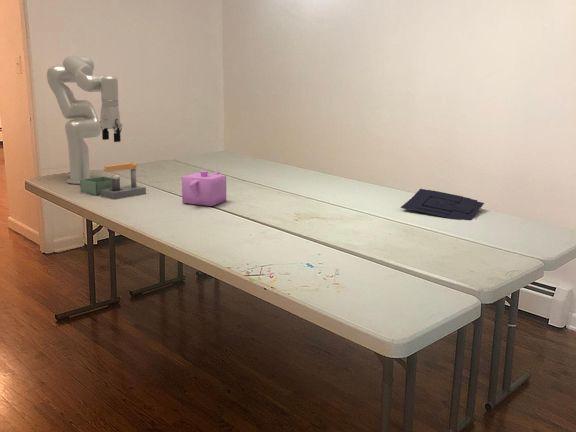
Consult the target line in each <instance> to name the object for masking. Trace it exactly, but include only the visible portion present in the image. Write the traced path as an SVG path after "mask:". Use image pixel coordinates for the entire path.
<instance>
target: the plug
mask: <svg viewBox="0 0 576 432" xmlns="http://www.w3.org/2000/svg"><path fill="white" fill-rule="evenodd" d="M111 178H112V191H120V187H121V179H120V178H121V177H120V174H115V173H114V174H111Z"/></svg>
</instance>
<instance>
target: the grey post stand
mask: <svg viewBox="0 0 576 432" xmlns="http://www.w3.org/2000/svg"><path fill="white" fill-rule="evenodd" d="M130 183H131V184H130V185H123V186H120V191H112V188H110V189H103V190H101V195H100V197H102V198H106V199H110V200H117V199H119V200H120V199H122V198H123V199H124V198H130V197H135V196H141V195H147V192H146V191H147V188H146V187H145V186H140V185H137V168H136V169H130Z"/></svg>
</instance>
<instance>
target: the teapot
mask: <svg viewBox="0 0 576 432" xmlns="http://www.w3.org/2000/svg"><path fill="white" fill-rule="evenodd" d="M181 195H182V198H181V201H182V203H183V204H190V205H200V206H206V207H207V206H209V207H214V206H216V205H219V204H222V203H224V202H227V175H226V174H220V170H217V171H214V173H209V171H208V170H200V171H199V172H194V173H192V174H187V175H184V176H181Z"/></svg>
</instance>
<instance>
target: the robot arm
mask: <svg viewBox="0 0 576 432" xmlns="http://www.w3.org/2000/svg"><path fill="white" fill-rule="evenodd" d="M94 70H95V63H94V61H93V59H92V58H91V57H90V56H86V55H68V56H66V57H64V59H63V61H62V64H58V65H57V64H56V65H52V66H50V67H49V68H47V72H46V79H47V84H48V87H49V88H50V89H51V91H52V93H53V94H54V96H55V98H56V101H57V103H58V106H59V109H60V112H61V114H62V116H63V117H64V119H67V120H69V121H67V122H66V123H65V124H64V125H65V126H64V130H65V134H66V140H67V144H68V145H67V146H68V147H67V148H68V161H69V173H68V174H67V176H68V177H69V178H68V179H67V180H66V181H67V183H68V184H75V185H76V184H77V185H78V184H79V185H80V180H81V179H88V178H91V173H90V156H89V155H90V154H89V153H90V152H89V146H88V143H87V142H86V141H85V140H84V139H88V138H89V139H91V138H97V137H99V136H100V135H102V136H101V138H102V140H104V141H106V140H109V139H110V132H109V130H113V132H114V133H113V142H114V143H120V142H122V141H121V133H122V128H123V123H122V122H121V115H120V110H119V108H120V107H119V106H120V105H119V82H118V78H117V77H116V76H111V75H104V74H103V75H102V74H101V75H100V74H99V75H98V74H94ZM65 83H68V84H69V83H71V84H72V83H75V84H76V85H77V87H79V89H80V90H83V91H84V92H88V93H95V92H96V93H97V92H100V95H101V106H100V117H99V118H100V121H99V118H98V114H97V112H96V110H95V108H94V105H93V104H92V103H91V102H90V101H89V100H87V99H77V98H76V97H75V95H74V92H73V91H72V89H71V88H70V87H69V86H68V85H66V84H65Z"/></svg>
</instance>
